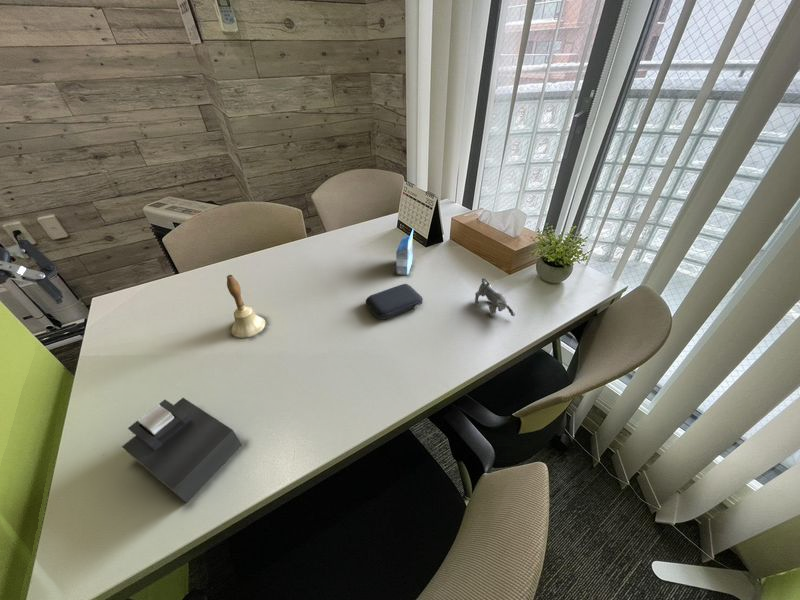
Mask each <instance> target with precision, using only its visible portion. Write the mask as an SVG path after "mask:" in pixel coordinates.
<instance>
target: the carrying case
mask: <svg viewBox="0 0 800 600" xmlns="http://www.w3.org/2000/svg"><path fill="white" fill-rule="evenodd" d="M423 299H424V298H423V296H421V294H420V293H419V292H417V290H416V289H414V288H413V287H412V286H411V285H410V284H408V283H402V284H400V285H396V286H394V287H390V288H388V289H384V290H382V291H379V292H377V293H374V294H370V295H369V296H368V297H367V298H366V299H365V305H366V306H367V307H368V308H369V309H370V311H371V312H372V313H373V314H374V316H376V318H378V319H380V320H384V319H388V318H391V317H393V316H396V315H398V314H401V313H403V312H406V311H409V310H411V309H412V310H413V311H415V310H416V309H418V308H419V307H421V305H422V304H423V301H424V300H423Z"/></svg>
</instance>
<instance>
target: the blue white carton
mask: <svg viewBox="0 0 800 600" xmlns="http://www.w3.org/2000/svg"><path fill="white" fill-rule="evenodd" d="M413 235H414V229H412V230H411V232H410V235H407V236H405V237H402V238H401V239H400V242H399V245H398V246H397V250H396V252H395V253H396V254H395V258H396V261H395V262H396V275H401V276H402V275H404V276H408V275H409V272H410V269H411V266H412V265H413Z"/></svg>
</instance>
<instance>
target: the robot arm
mask: <svg viewBox="0 0 800 600" xmlns="http://www.w3.org/2000/svg"><path fill="white" fill-rule="evenodd" d="M13 256H17V257H20V258H21V259H29V260H31V262H33V263H34V264H35V265H36V266H37V267H38V268H40V270H35V269H32V268H31V269H30V268H28V267H25V266H23V265H20V264H16V263H12V259H13V258H12V257H13ZM58 273H59V272H58V270H57V266H56V264H55V263H54V262H53V261H51V260H50V259H49V258H48V257H47V256H46V255H45V254H44V253H43V252H41V250H39V248H37V247H36V246H35V245H34V244H32V243H31V242H30V241H29V240H28V239H25V238H21V239H18V240H17V243H16V244H13V245H12V246H8V247H1V246H0V285H3V284H5V283H7V281H8V280H12V281H13V280H14V281H17V282H27V283H31V284H35V285H37V287H38V288H39V289H40V291H42V292H43V293H44V294H45V295H46V296H47V297H48V298H49V299H50V300H51V301H53V302H54V304H56V305H60V304H62V303H63V299H64V295H63V292H62V290H61V289H60V288H59V287H58V286H57V285H55V284H54V283H53V281H51V279H52V278H53V277H55V276H56V277H57V275H58Z"/></svg>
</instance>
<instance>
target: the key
mask: <svg viewBox="0 0 800 600" xmlns="http://www.w3.org/2000/svg"><path fill="white" fill-rule="evenodd" d="M173 419H175V418H174V417H173V415H172V414H171V413H170V412H169V411H167V410H166V409H164V408H163V407H161V406H160V405H158V404H157V405H155V406H154V407H153V408H152V409H150V410H148V412H146V413H145V414H144V415H143V416H141V417H140V418H139V419H137V421H138V422H139V423H140V424H141V425H142V426H143V427H144V428H146V429H147V430H148V431H149V432H151V433H152V434H153V435H156V434H157V433H158V432H159V431H160V430H162V429H163V428H164V427H165V426H166V425H167V424H169V423H170V422H171V421H172V420H173Z"/></svg>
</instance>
